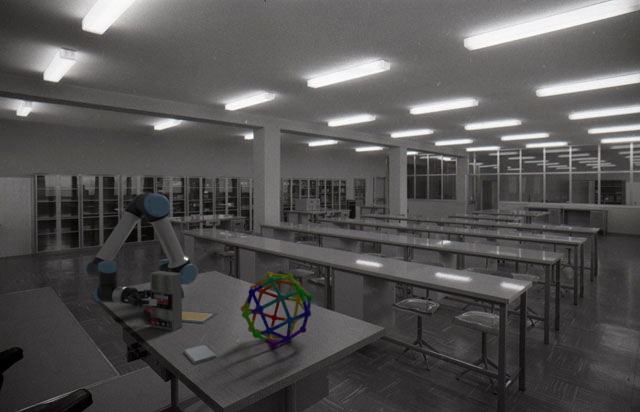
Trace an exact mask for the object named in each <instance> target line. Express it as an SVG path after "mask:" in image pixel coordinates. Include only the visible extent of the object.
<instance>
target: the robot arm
mask: <svg viewBox="0 0 640 412" xmlns="http://www.w3.org/2000/svg"><path fill="white" fill-rule="evenodd" d="M170 208H171V204H170V201H169V200H168V198H167V197H166V196H165V195H164V194H160V193H157V192H156V193H155V192H154V193H153V192H152V193H139V194H138V195H136V196H134V197H133V198H132V200H131V201H130V202H129V204H127V206H126V208H125V209H124V211H122V212H123V216H122V217H121V219H120V220H119V222H118V223H117V224H116V226H115V227H114V229H113V230H112V232H111V233H110V235H109V236H108V238H107V239H106V241H105V243H104V244H103V245H102V247H101V248H100V249H99V250H98V252H97V253H96V255H95V256H94V258H93V260H91V261H89V262H88V263H86V264H85V266H84V272H85V274H86V275H87V276H89V277H90V278H95V279H97V280H98V286H96V287H95V288H94V290H93V293H92V297H93V299H94V300H95V301H96V302H102V303H114V304H119V305H122V304H126V305H131V306H134V307H138V306H139V307H140V308H142V307H143V306H150V307H151V306H157V299H151V292H150V289H143V290H138V289H137V288H136V287H131V286H118V267H117V261H116V260H114V258H115V257H116V255H117V254H118V252H119V250H120V249H121V247H122V246H123V245H124V243H125V242H126V240H127V239H128V237H129V236H130V234H131V233H132V231H133V230H134V228H135V226H136V225H137V224H138V222H141V221H142V220H143V218H144V217H145V219H146V222H147V223H148V224H151V225H152V227H153V230H154V231H155V233H156V235H157V238H158V240H159V243H160V245H161V247H162V250H163V251H164V253H165V256H166V257H167V258H165V259H160V260H159V261H158V262H159V263H158V271H165V272H174V273H181V291H182V299H183V298H184V297H185V291H184V288H183V286H182V285H191V284H192V283H194V281H196V279H197V276H198V274H199V269H198V267H197V266H196V265H195V264H194V263H192V261H191V260H190V259H191V258H190V257H189V256H188V255H185V253H184V250H183V248H182V246H181V244H180V242H179V240H178V237H177V234H176V232H175V230H174V227H173V226H172V224H171V220H170V214H171V213H170Z"/></svg>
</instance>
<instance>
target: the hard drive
mask: <svg viewBox="0 0 640 412" xmlns="http://www.w3.org/2000/svg"><path fill="white" fill-rule="evenodd" d="M183 353H184V355H186V356H187V358H188V359H189V360H190V361H191V362H192V363H193V364H194V365H197V364H200V363H204V362H207V361H210V360H214V358H215V359H217V355H216V354H215V353H214V352H213V351H211V350H210V349H209V348H208V347H207V346H206V345H204V344H202V345H201V344H200V345H197V346H194V347H190V348H186V349H183Z"/></svg>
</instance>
